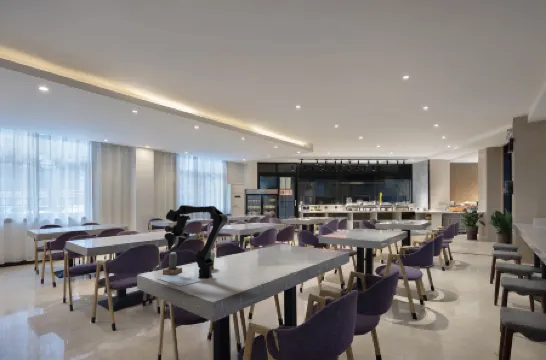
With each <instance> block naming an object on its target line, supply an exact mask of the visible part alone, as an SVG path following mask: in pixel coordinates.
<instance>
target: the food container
mask: <svg viewBox="0 0 546 360" xmlns="http://www.w3.org/2000/svg"><path fill="white" fill-rule="evenodd" d="M210 258H211V260H212V261H213V265H212V270H214V267H215V258H216V254H215V252H212V251H211V256H210Z"/></svg>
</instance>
